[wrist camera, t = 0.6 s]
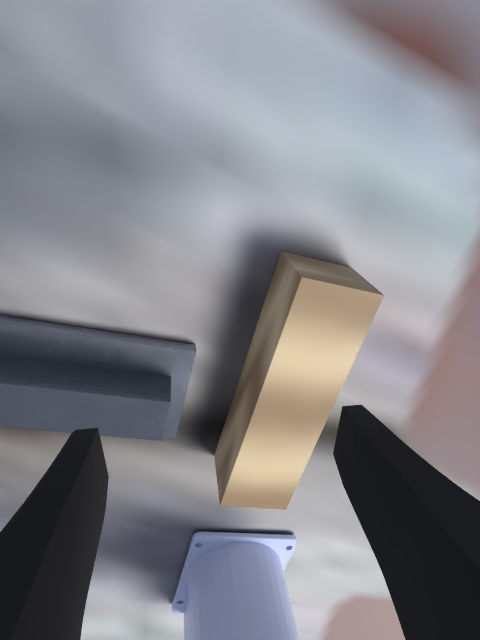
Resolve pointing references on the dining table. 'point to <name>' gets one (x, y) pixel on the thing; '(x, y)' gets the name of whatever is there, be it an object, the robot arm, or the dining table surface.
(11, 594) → the robot arm
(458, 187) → the dining table surface
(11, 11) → the dining table surface
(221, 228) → the dining table surface
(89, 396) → the ridge
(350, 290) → the bar
